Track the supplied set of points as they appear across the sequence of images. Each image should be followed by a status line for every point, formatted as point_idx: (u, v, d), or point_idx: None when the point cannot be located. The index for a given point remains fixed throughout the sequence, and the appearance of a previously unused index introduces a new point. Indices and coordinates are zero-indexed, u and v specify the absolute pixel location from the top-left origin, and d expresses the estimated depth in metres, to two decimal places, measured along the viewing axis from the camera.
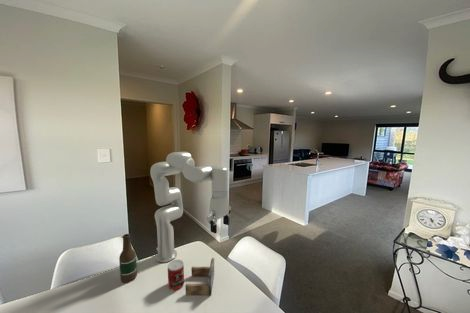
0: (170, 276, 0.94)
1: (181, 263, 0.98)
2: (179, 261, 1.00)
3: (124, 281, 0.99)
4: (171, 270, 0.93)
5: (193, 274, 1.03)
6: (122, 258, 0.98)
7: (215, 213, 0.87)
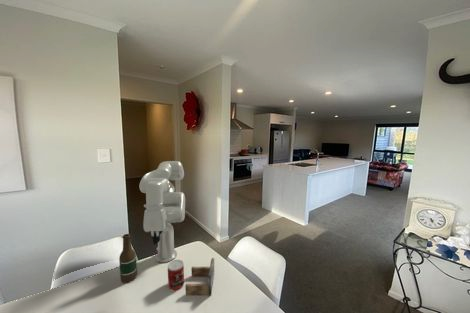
0: (170, 276, 0.94)
1: (181, 263, 0.98)
2: (179, 261, 1.00)
3: (124, 281, 0.99)
4: (171, 270, 0.93)
5: (193, 274, 1.03)
6: (122, 258, 0.98)
7: None
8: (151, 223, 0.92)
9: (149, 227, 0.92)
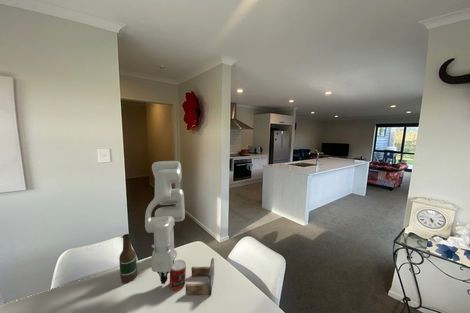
0: (172, 276, 0.93)
1: (183, 263, 0.98)
2: (181, 261, 0.99)
3: (124, 281, 0.99)
4: (174, 270, 0.93)
5: (193, 274, 1.03)
6: (122, 258, 0.98)
7: None
8: (159, 264, 0.94)
9: (157, 268, 0.94)
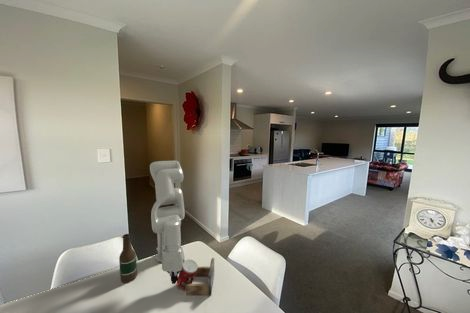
0: (183, 276, 0.92)
1: (195, 265, 0.97)
2: (193, 262, 0.98)
3: (124, 281, 0.99)
4: (186, 271, 0.92)
5: None
6: (122, 258, 0.98)
7: None
8: (169, 263, 0.93)
9: (167, 267, 0.93)
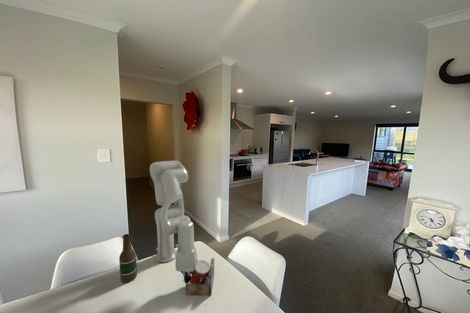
0: (194, 276, 0.92)
1: (207, 267, 0.95)
2: (206, 263, 0.97)
3: (124, 281, 0.99)
4: (197, 272, 0.91)
5: None
6: (122, 258, 0.98)
7: None
8: (183, 264, 0.93)
9: (181, 267, 0.93)
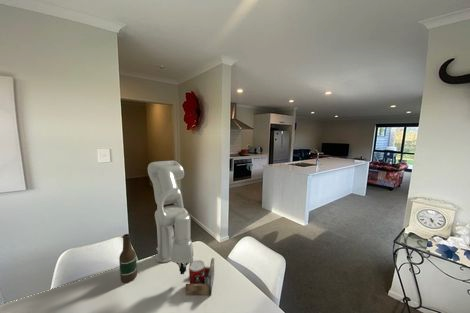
0: (191, 276, 0.94)
1: (202, 264, 0.97)
2: (201, 262, 0.99)
3: (124, 281, 0.99)
4: (191, 270, 0.93)
5: None
6: (122, 258, 0.98)
7: None
8: (179, 255, 0.94)
9: (177, 259, 0.95)
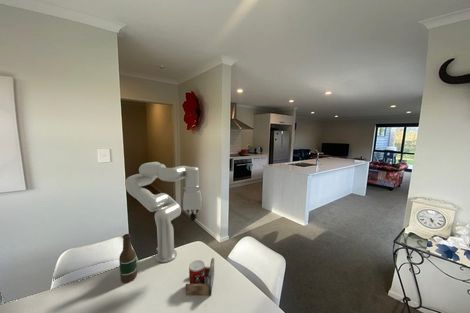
0: (191, 276, 0.94)
1: (202, 264, 0.97)
2: (201, 262, 0.99)
3: (124, 281, 0.99)
4: (191, 270, 0.93)
5: None
6: (122, 258, 0.98)
7: None
8: (190, 202, 1.07)
9: (188, 206, 1.08)
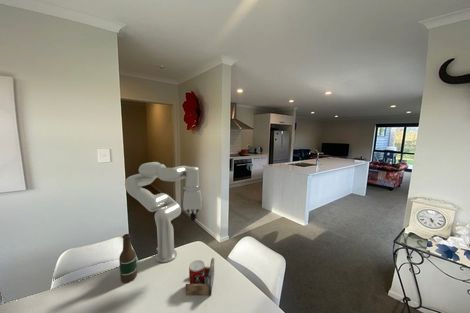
0: (191, 276, 0.94)
1: (202, 264, 0.97)
2: (201, 262, 0.99)
3: (124, 281, 0.99)
4: (191, 270, 0.93)
5: None
6: (122, 258, 0.98)
7: None
8: (190, 202, 1.08)
9: (188, 206, 1.08)
